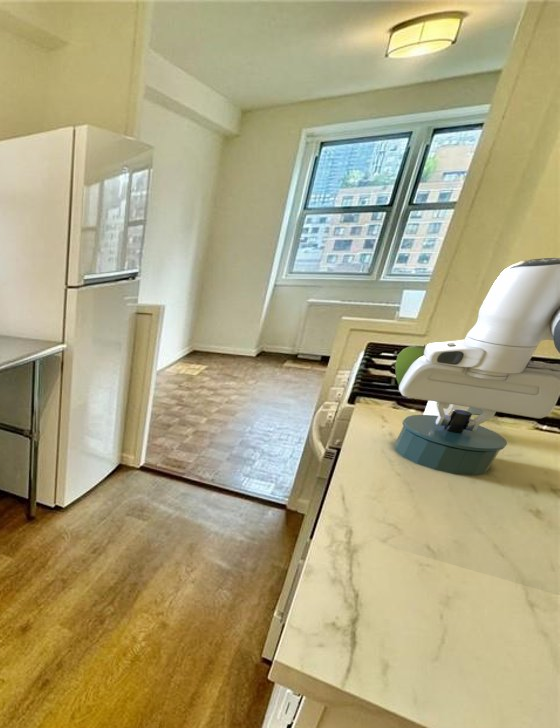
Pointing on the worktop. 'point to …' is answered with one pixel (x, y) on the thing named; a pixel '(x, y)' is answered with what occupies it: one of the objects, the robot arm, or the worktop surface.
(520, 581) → the worktop surface
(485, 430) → the lid
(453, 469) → the pot
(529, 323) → the robot arm
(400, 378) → the green mango
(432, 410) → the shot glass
